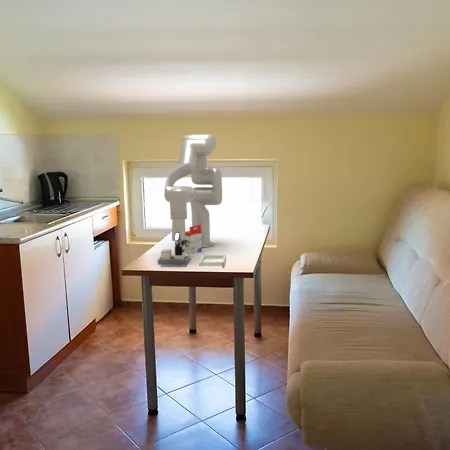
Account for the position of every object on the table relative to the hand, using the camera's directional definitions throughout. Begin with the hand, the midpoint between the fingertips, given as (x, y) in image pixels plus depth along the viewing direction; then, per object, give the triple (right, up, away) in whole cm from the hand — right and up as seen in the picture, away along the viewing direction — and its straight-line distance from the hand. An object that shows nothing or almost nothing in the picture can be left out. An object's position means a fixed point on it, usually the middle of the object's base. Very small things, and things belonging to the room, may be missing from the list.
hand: (180, 252), depth 228 cm
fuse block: (-2, -5, +1) cm, 6 cm away
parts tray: (+15, -5, +1) cm, 16 cm away
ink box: (+5, -2, +21) cm, 22 cm away
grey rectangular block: (0, -4, +1) cm, 4 cm away
